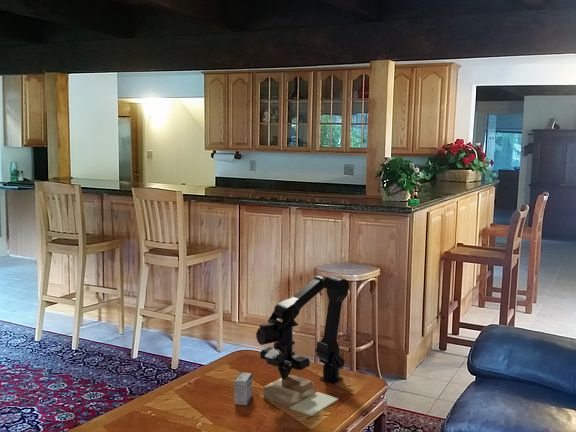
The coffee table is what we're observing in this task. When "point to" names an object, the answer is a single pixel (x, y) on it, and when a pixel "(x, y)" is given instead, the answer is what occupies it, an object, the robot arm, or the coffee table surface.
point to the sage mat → (314, 403)
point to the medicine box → (243, 388)
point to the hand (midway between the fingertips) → (284, 381)
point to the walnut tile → (297, 384)
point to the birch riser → (285, 393)
